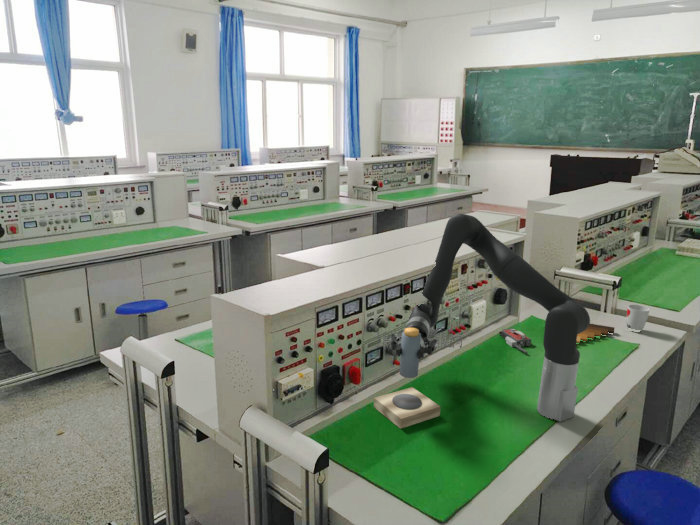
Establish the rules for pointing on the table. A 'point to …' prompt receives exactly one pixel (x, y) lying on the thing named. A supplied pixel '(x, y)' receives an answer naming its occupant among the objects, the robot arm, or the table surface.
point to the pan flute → (594, 332)
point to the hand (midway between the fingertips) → (409, 354)
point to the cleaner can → (410, 353)
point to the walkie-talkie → (515, 338)
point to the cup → (637, 316)
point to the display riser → (406, 407)
